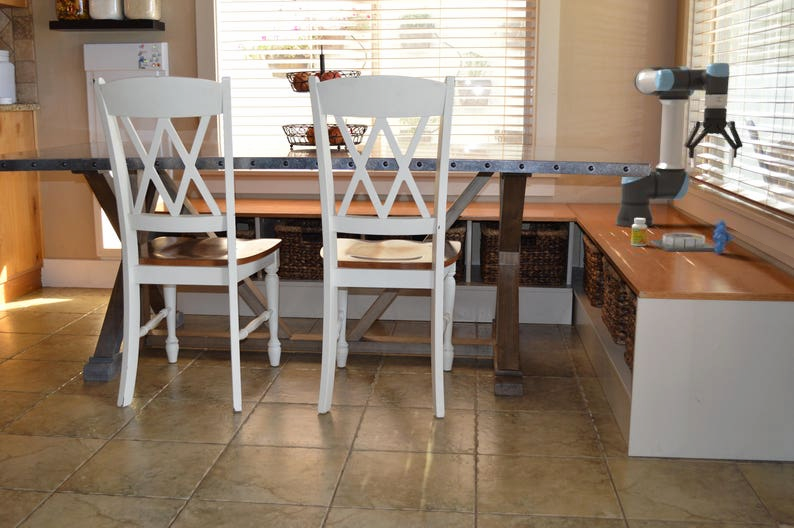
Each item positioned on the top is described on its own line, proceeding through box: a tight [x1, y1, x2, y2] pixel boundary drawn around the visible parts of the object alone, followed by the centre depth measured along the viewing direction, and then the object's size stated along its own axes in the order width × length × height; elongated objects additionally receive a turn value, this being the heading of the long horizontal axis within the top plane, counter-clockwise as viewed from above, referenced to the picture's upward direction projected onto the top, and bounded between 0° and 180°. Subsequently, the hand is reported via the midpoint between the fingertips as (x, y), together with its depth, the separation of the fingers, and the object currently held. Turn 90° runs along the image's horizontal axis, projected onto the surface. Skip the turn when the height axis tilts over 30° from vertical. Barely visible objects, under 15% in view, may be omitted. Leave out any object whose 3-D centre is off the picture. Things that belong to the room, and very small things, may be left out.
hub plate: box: [650, 232, 715, 252], centre depth 323 cm, size 18×18×5 cm
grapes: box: [712, 219, 734, 255], centre depth 306 cm, size 12×7×12 cm, turn 167°
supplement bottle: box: [630, 218, 648, 247], centre depth 326 cm, size 5×5×10 cm
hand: (711, 167), depth 323 cm, fingers open, 13 cm apart
